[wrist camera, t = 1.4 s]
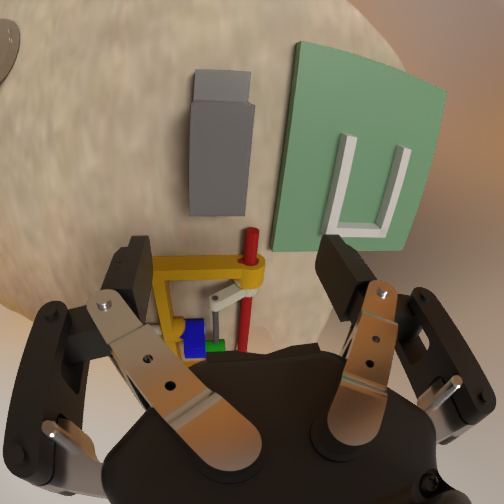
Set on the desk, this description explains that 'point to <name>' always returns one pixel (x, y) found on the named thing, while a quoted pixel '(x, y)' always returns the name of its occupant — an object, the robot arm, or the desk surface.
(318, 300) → the desk surface
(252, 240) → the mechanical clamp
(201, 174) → the grey stepped block
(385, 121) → the green plate with u-rail
